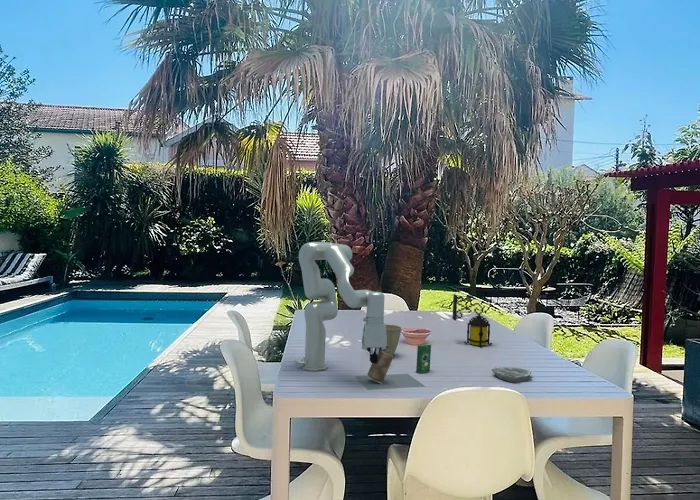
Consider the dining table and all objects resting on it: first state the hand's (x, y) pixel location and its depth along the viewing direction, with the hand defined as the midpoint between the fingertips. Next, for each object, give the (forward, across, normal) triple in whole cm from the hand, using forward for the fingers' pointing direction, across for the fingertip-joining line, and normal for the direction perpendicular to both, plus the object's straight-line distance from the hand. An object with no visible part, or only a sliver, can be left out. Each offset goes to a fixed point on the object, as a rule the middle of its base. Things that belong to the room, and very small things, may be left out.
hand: (373, 362), depth 223 cm
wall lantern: (+9, +86, +69) cm, 111 cm away
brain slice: (+10, +68, +1) cm, 69 cm away
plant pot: (+9, +23, +47) cm, 53 cm away
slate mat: (+9, +8, 0) cm, 12 cm away
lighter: (+9, +14, +29) cm, 34 cm away
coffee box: (+10, +30, +15) cm, 35 cm away
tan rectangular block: (+7, +1, 0) cm, 7 cm away
